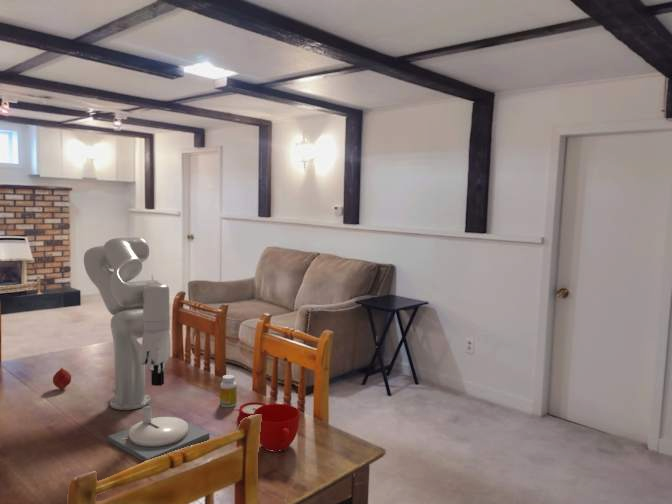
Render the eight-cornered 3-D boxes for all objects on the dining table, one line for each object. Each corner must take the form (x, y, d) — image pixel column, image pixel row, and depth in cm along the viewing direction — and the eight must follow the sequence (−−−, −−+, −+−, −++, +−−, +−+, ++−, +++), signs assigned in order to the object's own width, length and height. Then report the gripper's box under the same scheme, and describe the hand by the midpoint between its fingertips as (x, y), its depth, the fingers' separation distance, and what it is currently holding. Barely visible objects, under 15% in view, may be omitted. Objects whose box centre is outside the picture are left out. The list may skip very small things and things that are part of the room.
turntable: (118, 434, 150) (117, 414, 149) (166, 417, 162) (166, 398, 162) (150, 452, 140) (150, 430, 139) (199, 432, 153) (199, 412, 152)
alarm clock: (252, 399, 174) (284, 401, 165) (255, 418, 174) (287, 421, 165) (227, 408, 166) (260, 411, 157) (230, 428, 166) (263, 432, 156)
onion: (49, 390, 186) (48, 368, 185) (63, 385, 191) (62, 364, 190) (61, 393, 184) (60, 371, 183) (75, 388, 189) (74, 366, 188)
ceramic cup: (263, 468, 137) (264, 431, 136) (247, 440, 152) (248, 407, 151) (310, 459, 142) (311, 424, 141) (290, 433, 158) (291, 401, 157)
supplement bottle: (232, 408, 175) (232, 380, 174) (217, 406, 176) (217, 378, 175) (238, 402, 180) (239, 374, 179) (224, 400, 181) (224, 373, 180)
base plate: (107, 441, 150) (107, 435, 150) (168, 418, 165) (168, 413, 165) (147, 464, 138) (147, 458, 137) (209, 437, 153) (209, 432, 153)
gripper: (156, 319, 166) (157, 376, 167) (132, 330, 151) (133, 392, 153) (179, 320, 165) (180, 377, 166) (156, 331, 150) (157, 394, 152)
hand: (157, 384), depth 159 cm, fingers closed
